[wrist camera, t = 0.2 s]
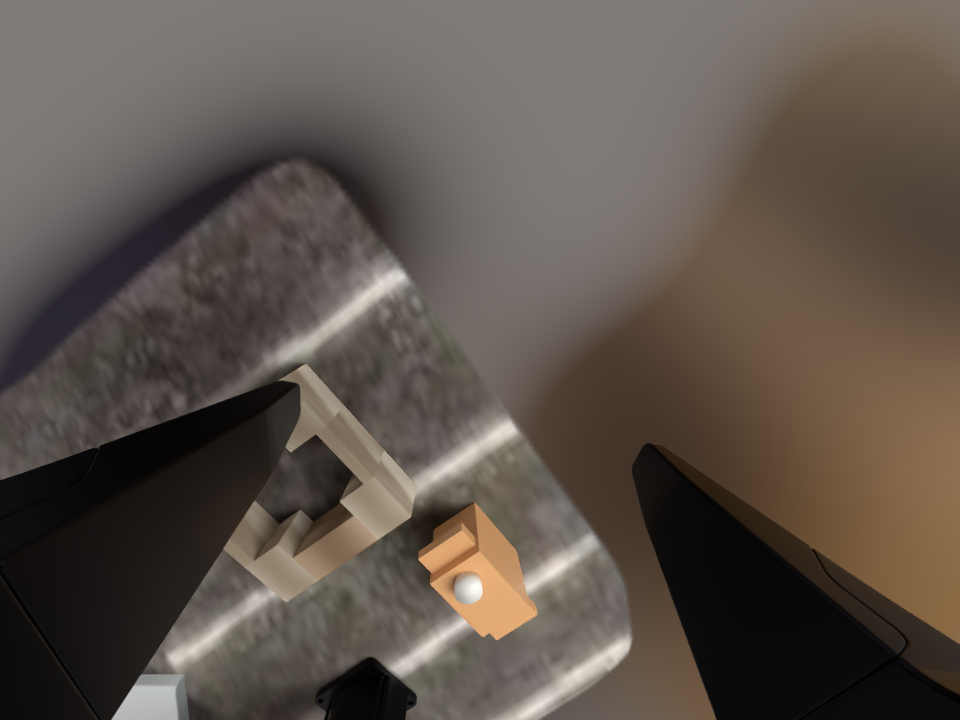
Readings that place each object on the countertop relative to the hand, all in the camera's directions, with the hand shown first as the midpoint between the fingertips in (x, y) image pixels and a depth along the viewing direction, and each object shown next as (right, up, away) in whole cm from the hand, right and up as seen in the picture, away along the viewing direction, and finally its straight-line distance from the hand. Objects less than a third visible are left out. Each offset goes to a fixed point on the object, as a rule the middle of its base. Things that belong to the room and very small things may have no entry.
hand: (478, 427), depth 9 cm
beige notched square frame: (-13, -6, +16) cm, 21 cm away
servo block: (0, -13, +19) cm, 23 cm away
